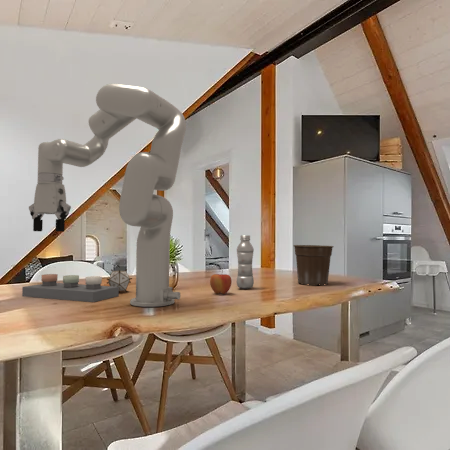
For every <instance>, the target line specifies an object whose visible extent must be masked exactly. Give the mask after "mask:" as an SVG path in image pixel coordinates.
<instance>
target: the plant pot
mask: <svg viewBox="0 0 450 450" xmlns="http://www.w3.org/2000/svg"><path fill="white" fill-rule="evenodd" d="M293 248H294V254H295V259H296V260H295V261H296V272H297V283H298V284H300V283H301V285H304V284H309V285H308V286H318V284H320V285H319V286H325V285H324V284H327V285H329V274H330V265H331V256H332V254H333V248H334V246H333V245H316V244H294V245H293Z"/></svg>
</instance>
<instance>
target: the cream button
mask: <svg viewBox="0 0 450 450" xmlns="http://www.w3.org/2000/svg"><path fill="white" fill-rule="evenodd" d="M102 279H103V278H102V276H95V275H93V276H86V277H85V284H84V285H86V289H93V290H95V289H100V288H101V286H102V284H103V283H102V281H103V280H102Z"/></svg>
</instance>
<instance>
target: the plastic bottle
mask: <svg viewBox="0 0 450 450" xmlns="http://www.w3.org/2000/svg"><path fill="white" fill-rule="evenodd" d="M239 240H240V243H239V244H238V246H237V248H236V256H237V277H236V287H237V288H238V289H243V290H248V289H251V288H252V289H253V286H254V284H255V283H254V282H255V280H254V273H253V258H254V257H253V256H254V247H253V245H252V243H251V235H248V234H247V235H242V234H241V235H240V239H239Z"/></svg>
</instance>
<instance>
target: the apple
mask: <svg viewBox="0 0 450 450" xmlns="http://www.w3.org/2000/svg"><path fill="white" fill-rule="evenodd" d="M223 272H224V271H223V270H221V273H219V274H218V273H216V274H215V273H214V274H212V275H211V276H210V279H209V283H210V289H211V290H212V291H213V292H214V294H215V295H219V294H222V295H226V294H227V293H228V292H229V291H230V289H231V286H232V278H231V276H230V275H229V274H227V273H226V274H225V273H224V274H223Z"/></svg>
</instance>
